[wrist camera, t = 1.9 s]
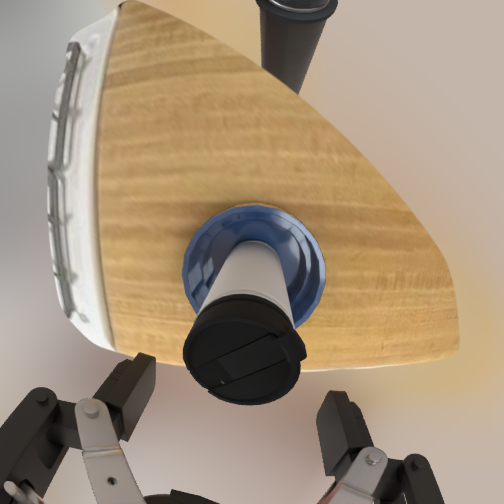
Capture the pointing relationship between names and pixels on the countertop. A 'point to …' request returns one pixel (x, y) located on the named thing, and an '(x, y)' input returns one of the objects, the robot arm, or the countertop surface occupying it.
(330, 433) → the robot arm
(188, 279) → the bowl
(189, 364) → the travel mug
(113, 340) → the countertop surface
